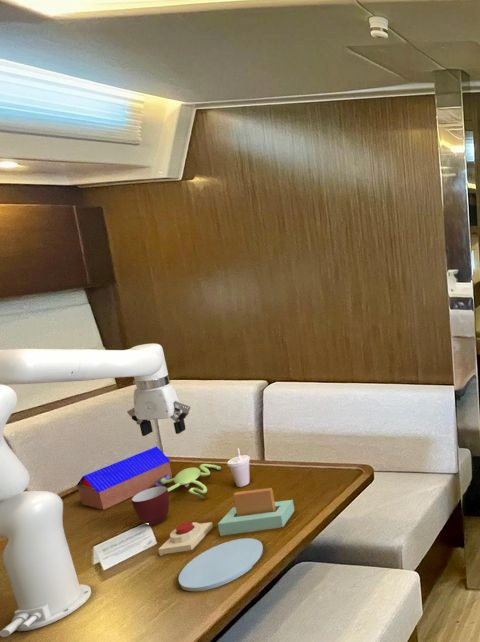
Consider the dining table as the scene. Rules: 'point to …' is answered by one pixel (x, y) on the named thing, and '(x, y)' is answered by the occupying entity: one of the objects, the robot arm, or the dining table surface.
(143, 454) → the house
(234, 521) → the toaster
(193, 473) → the figurine
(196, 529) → the control block
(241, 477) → the smoothie
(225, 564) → the plate
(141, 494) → the mug
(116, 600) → the dining table surface
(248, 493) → the copper rectangular plank
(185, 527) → the stop button
